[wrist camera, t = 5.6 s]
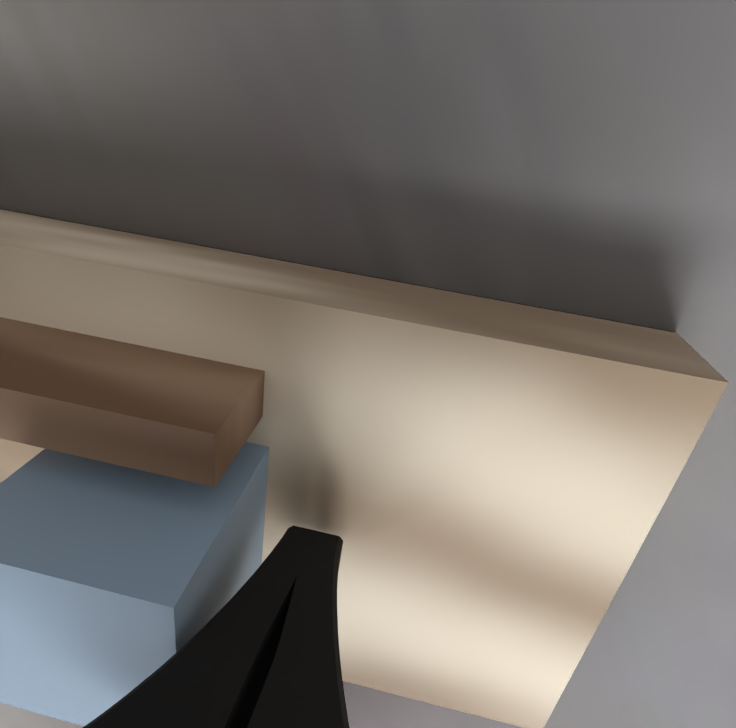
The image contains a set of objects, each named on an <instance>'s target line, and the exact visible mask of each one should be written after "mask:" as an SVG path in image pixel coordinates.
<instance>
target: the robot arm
mask: <svg viewBox="0 0 736 728" xmlns="http://www.w3.org/2000/svg"><path fill="white" fill-rule="evenodd" d="M342 546H343V540H342V539H341V537H340V536H337V535H333V534H328V533H324V532H320V531H316V530H311V529H307V528H303V527H298V526H294V525H293V526H291V527H289V528H288V529H287V531H286V532H285V534H284V535H283V537H282V538H281V539H280V541H279V542H278V544H277V545H276V546H275V548H274V549H273V550H272V552H271V553H270V554H269V555H268V557H267V558H266V559H265V560H264V562H263V563H262V564H261V565H260V566H259V568H258V569H257V570H256V571H255V572H254V574H253V575H252V576H251V577H250V578H249V579H248V580H247V582H246V583H245V584H244V585H243V586H242V587H241V588H240V589H239V591H238V592H237V593H236V594H235V595H234V596H233V597H232V598H231V599H230V600H229V602H228V603H227V604H226V605H225V606H224V607H223V608H222V609H221V610H220V611H219V612H218V613H217V614H216V615H215V616H214V617H213V618H212V619H211V620H210V621H209V622H208V623H207V624H206V625H205V626H204V627H203V628H202V629H201V630H200V631H199V632H198V633H197V634H196V635H195V636H194V637H193V638H192V639H191V640H190V641H188V642H187V643H186V644H185V645H184V646H183V647H182V648H181V649H180V650H179V651H178V652H176V653H175V654H174V655H173V656H172V657H171V658H170V659H169V660H167V661H166V662H165V663H164V664H163V665H162V666H161V667H159V668H158V669H157V670H156V671H155V672H154V673H152V674H151V675H150V676H149V677H147V678H146V679H145V680H144V681H143V682H141V683H140V684H139V685H138V686H137V687H135V688H134V689H133V690H132V691H131V692H129V693H128V694H127V695H126V696H124V697H123V698H122V699H120V700H119V701H118V702H117V703H115V704H114V705H113V706H111V707H110V708H109V709H108V710H106V711H105V712H104V713H102V714H101V715H99V716H98V717H97V718H95V719H94V720H93V721H91V722H90V723H88V724H87V725H86V726H84V727H83V728H349V723H348V717H347V710H346V703H345V697H344V689H343V681H342V672H341V662H340V651H339V638H338V616H337V581H338V571H339V565H340V559H341V552H342Z"/></svg>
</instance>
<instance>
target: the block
mask: <svg viewBox="0 0 736 728" xmlns="http://www.w3.org/2000/svg"><path fill="white" fill-rule="evenodd" d="M268 457H269V447H267V446H262V445H258V444H253V443H249V442H245V443H244V445H243V446H242V448H241V449H240V451H239V452H238V454H237V455H236V457H235V458H234V460H233V461H232V463H231V464H230V466H229V467H228V469H227V470H226V472H225V473H224V475H223V476H222V477H221V479H220V480H219V482H218V483H217V485H216V486H215V487H212V486H207V485H203V484H199V483H194V482H190V481H185V480H181V479H177V478H172V477H168V476H163V475H159V474H155V473H150V472H146V471H141V470H137V469H133V468H128V467H124V466H119V465H115V464H110V463H106V462H102V461H97V460H93V459H88V458H84V457H80V456H75V455H71V454H66V453H62V452H58V451H53V450H49V449H44V450H42V451H41V452H40V453H39V454H37V455H36V456H35V457H33V458H32V459H31V460H30V461H28V462H27V463H26V464H24V465H23V466H22V467H21V468H19V469H18V470H17V471H15V472H14V473H13V474H12V475H10V476H9V477H8V478H6V479H5V480H4V481H3V482H1V483H0V703H4V704H7V705H11V706H14V707H18V708H21V709H25V710H28V711H32V712H36V713H39V714H43V715H46V716H50V717H53V718H57V719H60V720H64V721H67V722H71V723H74V724H78V725H81V726H86V725H87V724H88V723H90V722H91V721H93V720H94V719H95V718H97V717H98V716H99V715H101V714H102V713H104V712H105V711H106V710H108V709H109V708H110V707H111V706H113V705H114V704H115V703H117V702H118V701H119V700H120V699H122V698H123V697H124V696H126V695H127V694H128V693H129V692H131V691H132V690H133V689H134V688H135V687H137V686H138V685H139V684H140V683H141V682H143V681H144V680H145V679H146V678H147V677H149V676H150V675H151V674H152V673H154V672H155V671H156V670H157V669H158V668H159V667H161V666H162V665H163V664H164V663H165V662H166V661H167V660H169V659H170V658H171V657H172V656H173V655H174V654H175V653H176V652H178V651H179V650H180V649H181V648H182V647H183V646H184V645H185V644H186V643H187V642H188V641H190V640H191V639H192V638H193V637H194V636H195V635H196V634H197V633H198V632H199V631H200V630H201V629H202V628H203V627H204V626H205V625H206V624H207V623H208V622H209V621H210V620H211V619H212V618H213V617H214V616H215V615H216V614H217V613H218V612H219V611H220V610H221V609H222V608H223V607H224V606H225V605H226V604H227V603H228V602H229V600H230V599H231V598H232V597H233V596H234V595H235V594H236V593H237V592H238V591H239V589H240V588H241V587H242V586H243V585H244V584H245V583H246V582H247V580H248V579H249V578H250V577H251V576H252V575H253V574H254V572H255V571H256V570H257V569H258V568H259V566H260V565H261V564H262V549H263V534H264V519H265V503H266V488H267V473H268Z"/></svg>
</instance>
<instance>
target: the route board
mask: <svg viewBox="0 0 736 728" xmlns="http://www.w3.org/2000/svg"><path fill="white" fill-rule="evenodd" d="M728 384H729V382H728V381H727V380H725V379H724V378H723V377H722V376H721V375H720V374H719V373H718V372H717V371H716V370H715V369H714V368H713V367H712V366H711V365H710V364H709V363H708V362H707V361H706V360H705V359H703V358H702V357H701V356H700V355H699V354H698V353H697V352H696V351H695V350H694V349H693V348H692V347H691V346H690V345H689V344H688V343H687V342H686V341H685V340H684V339H683V338H682V337H680V336H679V335H678V334H677V333H674V332H669V331H663V330H658V329H652V328H647V327H641V326H636V325H630V324H625V323H619V322H614V321H609V320H603V319H598V318H592V317H587V316H581V315H576V314H570V313H565V312H559V311H554V310H548V309H543V308H537V307H532V306H526V305H521V304H516V303H510V302H505V301H499V300H494V299H488V298H483V297H477V296H472V295H466V294H461V293H455V292H450V291H444V290H439V289H433V288H428V287H422V286H417V285H412V284H406V283H401V282H395V281H390V280H384V279H379V278H373V277H368V276H362V275H357V274H351V273H346V272H340V271H335V270H329V269H324V268H319V267H313V266H308V265H302V264H297V263H291V262H286V261H280V260H275V259H269V258H264V257H258V256H253V255H247V254H242V253H236V252H231V251H225V250H220V249H215V248H209V247H204V246H198V245H193V244H187V243H182V242H176V241H171V240H165V239H160V238H154V237H149V236H143V235H138V234H132V233H127V232H122V231H116V230H111V229H105V228H100V227H94V226H89V225H83V224H78V223H72V222H67V221H61V220H56V219H50V218H45V217H39V216H34V215H28V214H23V213H18V212H12V211H7V210H1V209H0V483H1V482H3V481H4V480H5V479H6V478H8V477H9V476H10V475H12V474H13V473H14V472H15V471H17V470H18V469H19V468H21V467H22V466H23V465H24V464H26V463H27V462H28V461H30V460H31V459H32V458H33V457H35V456H36V455H37V454H39V453H40V452H41V451H42V450H44V449H49V450H53V451H58V452H62V453H66V454H71V455H75V456H80V457H84V458H88V459H93V460H97V461H102V462H106V463H110V464H115V465H119V466H124V467H128V468H133V469H137V470H141V471H146V472H150V473H155V474H159V475H163V476H168V477H172V478H177V479H181V480H185V481H190V482H194V483H199V484H203V485H207V486H212V487H215V486H216V485H217V483H218V482H219V480H220V479H221V477H222V476H223V475H224V473H225V472H226V470H227V469H228V467H229V466H230V464H231V463H232V461H233V460H234V458H235V457H236V455H237V454H238V452H239V451H240V449H241V448H242V446H243V445H244V443H245V442H249V443H253V444H258V445H262V446H267V447H269V457H268V473H267V488H266V503H265V519H264V534H263V549H262V563H263V562H264V560H265V559H266V558H267V557H268V555H269V554H270V553H271V552H272V550H273V549H274V548H275V546H276V545H277V544H278V542H279V541H280V539H281V538H282V537H283V535H284V534H285V532H286V531H287V529H288V528H289V527H291V526H293V525H294V526H298V527H303V528H307V529H311V530H316V531H320V532H324V533H328V534H333V535H337V536H340V537H341V539H342V540H343V546H342V552H341V559H340V565H339V571H338V581H337V616H338V638H339V651H340V662H341V672H342V681H345V682H349V683H352V684H356V685H360V686H364V687H368V688H372V689H376V690H380V691H384V692H388V693H391V694H395V695H399V696H403V697H407V698H411V699H415V700H419V701H423V702H426V703H430V704H434V705H438V706H442V707H446V708H450V709H454V710H458V711H462V712H465V713H469V714H473V715H477V716H481V717H485V718H489V719H493V720H497V721H501V722H504V723H508V724H512V725H516V726H520V727H524V728H544V726H545V724H546V722H547V720H548V718H549V716H550V715H551V713H552V711H553V709H554V707H555V705H556V703H557V702H558V700H559V698H560V696H561V694H562V692H563V690H564V689H565V687H566V685H567V683H568V681H569V679H570V677H571V676H572V674H573V672H574V670H575V668H576V666H577V664H578V663H579V661H580V659H581V657H582V655H583V653H584V651H585V649H586V648H587V646H588V644H589V642H590V640H591V638H592V636H593V635H594V633H595V631H596V629H597V627H598V625H599V623H600V622H601V620H602V618H603V616H604V614H605V612H606V610H607V609H608V607H609V605H610V603H611V601H612V599H613V597H614V596H615V594H616V592H617V590H618V588H619V586H620V584H621V583H622V581H623V579H624V577H625V575H626V573H627V571H628V570H629V568H630V566H631V564H632V562H633V560H634V558H635V557H636V555H637V553H638V551H639V549H640V547H641V545H642V544H643V542H644V540H645V538H646V536H647V534H648V532H649V530H650V529H651V527H652V525H653V523H654V521H655V519H656V517H657V516H658V514H659V512H660V510H661V508H662V506H663V504H664V503H665V501H666V499H667V497H668V495H669V493H670V491H671V490H672V488H673V486H674V484H675V482H676V480H677V478H678V477H679V475H680V473H681V471H682V469H683V467H684V465H685V464H686V462H687V460H688V458H689V456H690V454H691V452H692V451H693V449H694V447H695V445H696V443H697V441H698V439H699V438H700V436H701V434H702V432H703V430H704V428H705V426H706V424H707V423H708V421H709V419H710V417H711V415H712V413H713V411H714V410H715V408H716V406H717V404H718V402H719V400H720V398H721V397H722V395H723V393H724V391H725V389H726V387H727V385H728Z"/></svg>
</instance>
